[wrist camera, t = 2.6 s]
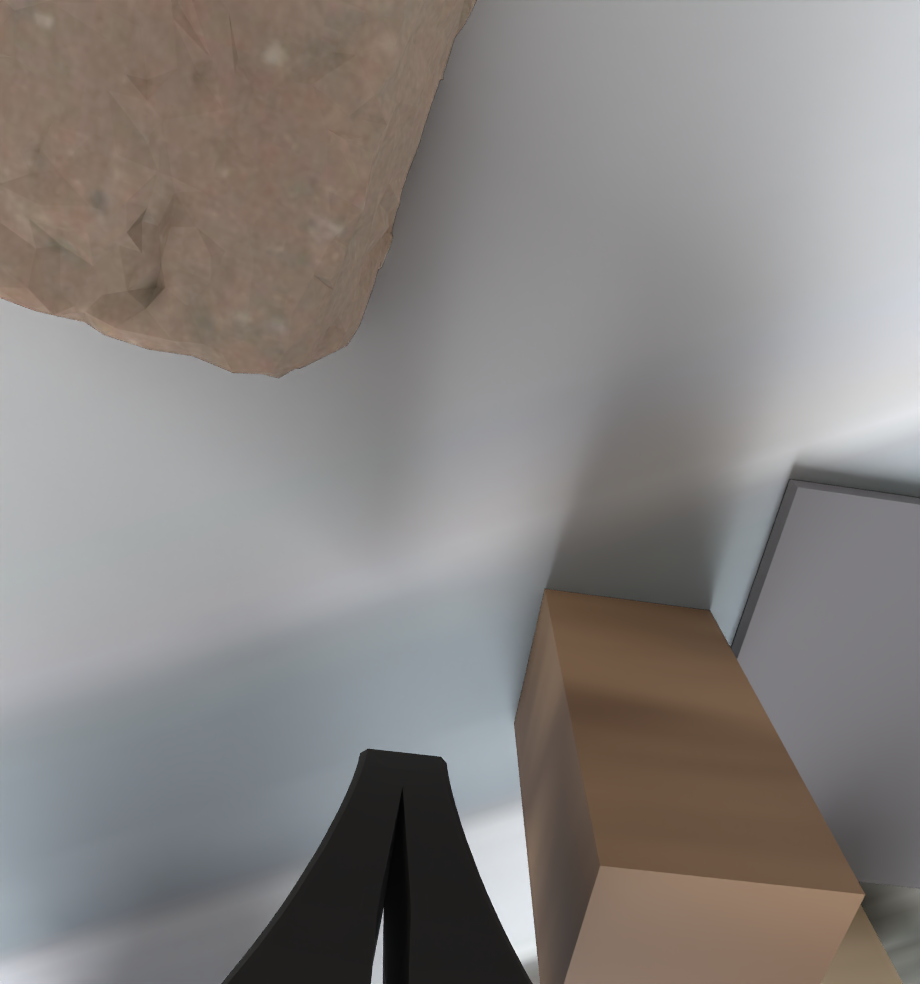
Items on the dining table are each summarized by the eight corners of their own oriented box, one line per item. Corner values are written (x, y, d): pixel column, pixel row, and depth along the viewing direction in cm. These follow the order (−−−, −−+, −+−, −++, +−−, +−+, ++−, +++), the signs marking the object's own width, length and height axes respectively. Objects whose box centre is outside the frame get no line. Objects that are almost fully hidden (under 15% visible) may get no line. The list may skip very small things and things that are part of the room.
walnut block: (667, 742, 18) (780, 1063, 12) (514, 723, 18) (546, 1041, 12) (709, 610, 17) (865, 894, 11) (544, 588, 17) (600, 865, 10)
